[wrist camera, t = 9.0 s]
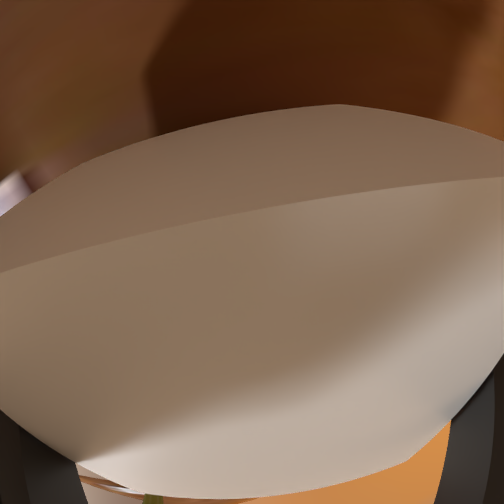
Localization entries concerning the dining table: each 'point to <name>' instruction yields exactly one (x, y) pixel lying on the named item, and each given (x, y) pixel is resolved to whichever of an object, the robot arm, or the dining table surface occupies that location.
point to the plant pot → (152, 499)
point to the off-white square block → (256, 300)
